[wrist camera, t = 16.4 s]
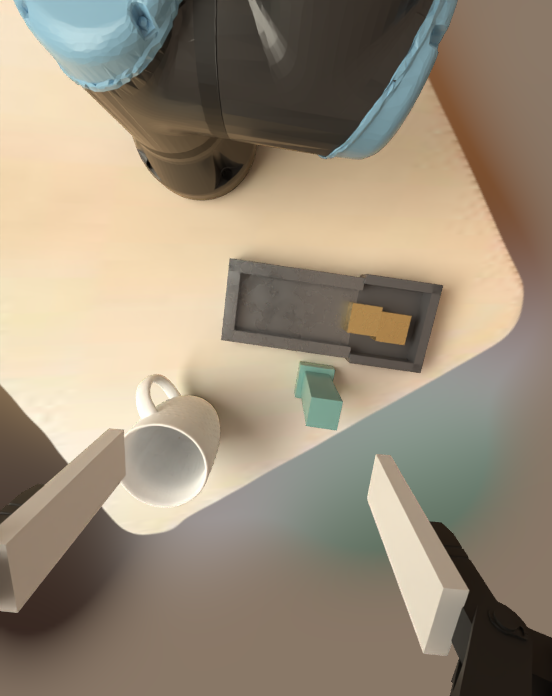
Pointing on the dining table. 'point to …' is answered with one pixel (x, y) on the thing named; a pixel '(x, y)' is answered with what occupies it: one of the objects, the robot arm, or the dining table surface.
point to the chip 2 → (393, 328)
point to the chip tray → (403, 300)
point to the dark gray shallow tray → (288, 307)
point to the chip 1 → (362, 319)
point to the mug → (170, 446)
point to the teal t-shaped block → (318, 395)
